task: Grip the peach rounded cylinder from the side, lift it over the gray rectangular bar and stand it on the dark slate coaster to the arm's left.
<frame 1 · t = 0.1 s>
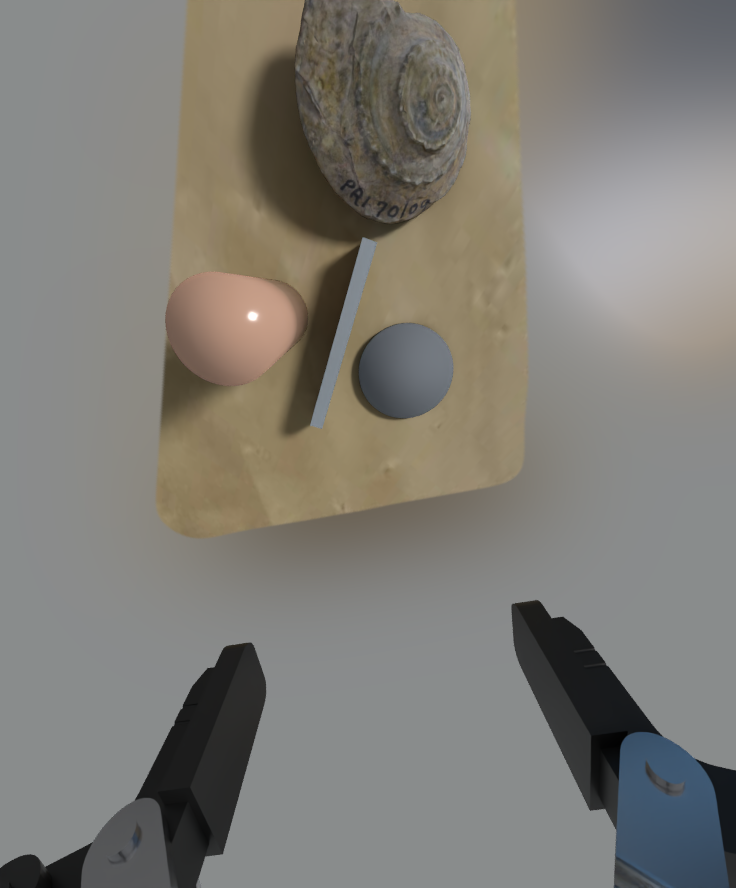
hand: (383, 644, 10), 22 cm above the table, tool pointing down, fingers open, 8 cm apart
fossilized seashell: (381, 123, 23), on the table
gray rectangular bar: (341, 338, 28), on the table
peach rounded cylinder: (275, 315, 27), on the table
slate coaster: (405, 371, 29), on the table
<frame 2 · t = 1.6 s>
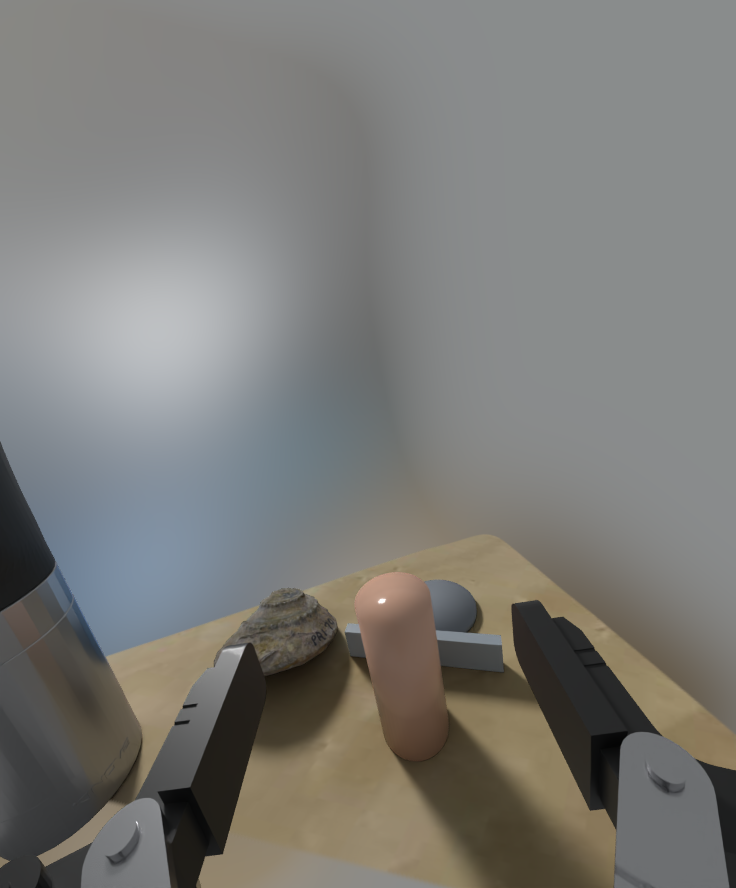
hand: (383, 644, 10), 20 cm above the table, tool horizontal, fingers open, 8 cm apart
fossilized seashell: (283, 656, 35), on the table
gray rectangular bar: (422, 658, 32), on the table
peach rounded cylinder: (415, 722, 27), on the table
slate coaster: (437, 609, 37), on the table
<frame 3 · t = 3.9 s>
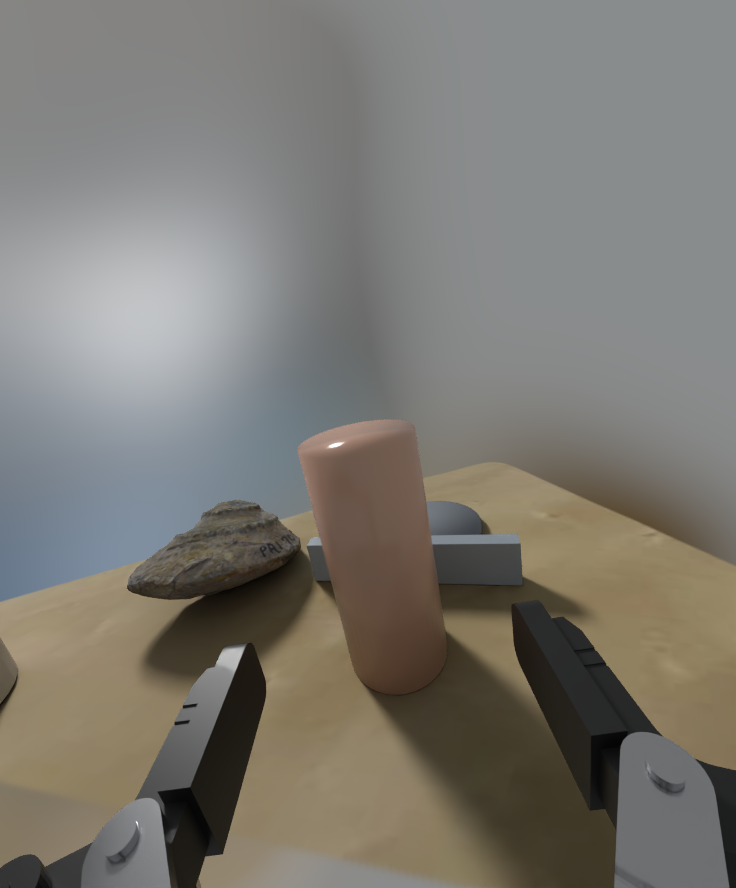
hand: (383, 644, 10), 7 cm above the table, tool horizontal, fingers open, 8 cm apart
fossilized seashell: (230, 583, 27), on the table
gray rectangular bar: (411, 577, 24), on the table
peach rounded cylinder: (398, 646, 19), on the table
slate coaster: (432, 529, 29), on the table
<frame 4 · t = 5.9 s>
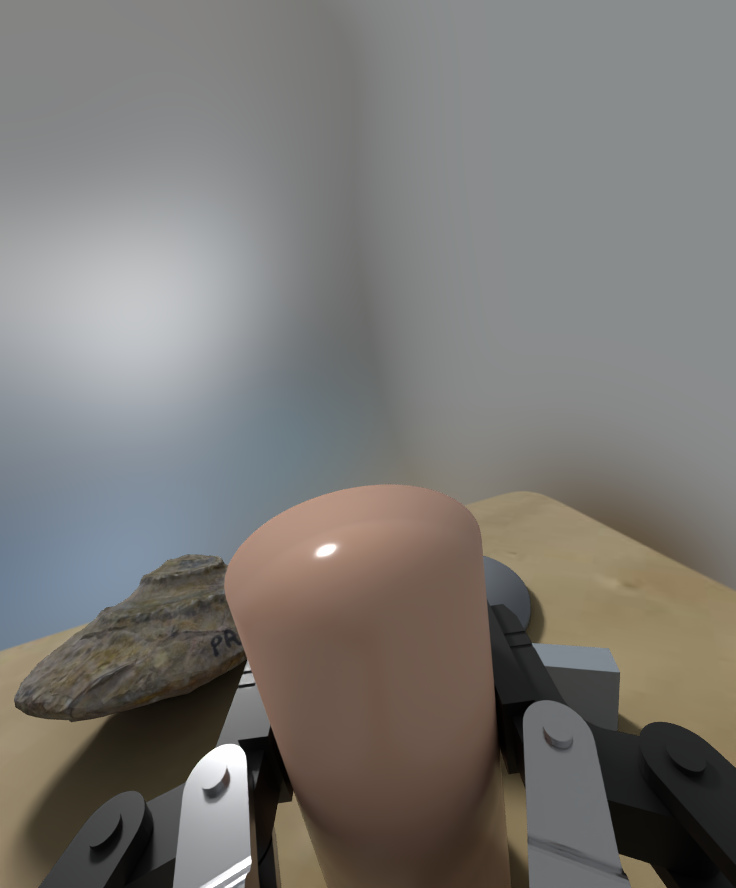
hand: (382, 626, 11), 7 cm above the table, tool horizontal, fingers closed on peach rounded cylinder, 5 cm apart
fossilized seashell: (180, 671, 20), on the table
gray rectangular bar: (434, 696, 16), on the table
peach rounded cylinder: (422, 871, 11), on the table, touching gripper
slate coaster: (458, 600, 21), on the table
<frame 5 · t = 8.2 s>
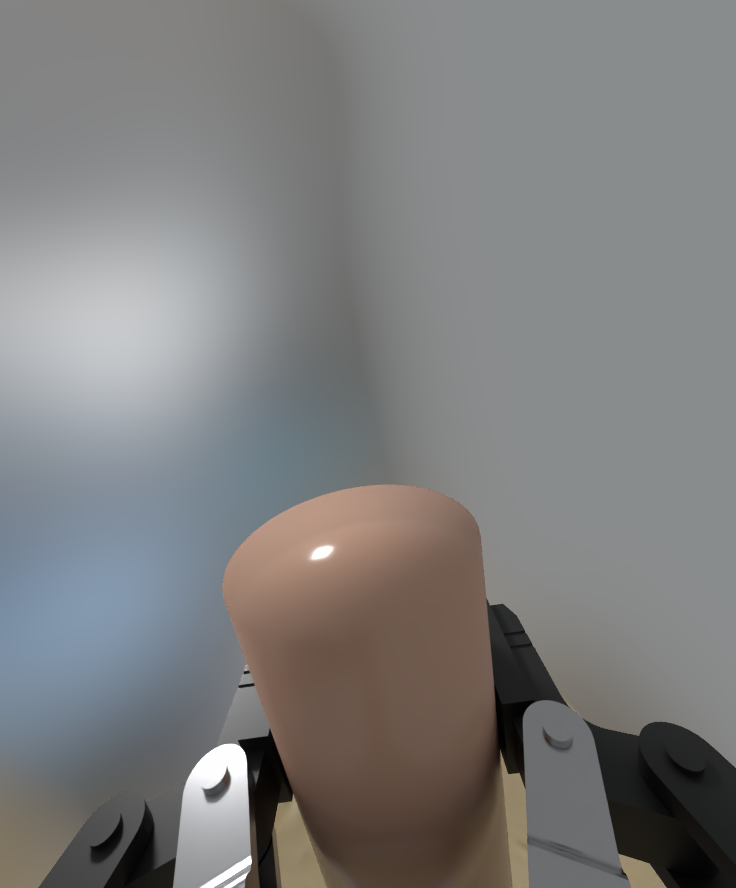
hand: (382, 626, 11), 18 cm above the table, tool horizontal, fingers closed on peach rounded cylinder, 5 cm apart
peach rounded cylinder: (423, 872, 11), point 11 cm above the table, touching gripper
when the fingers open (8 cm above the table, at t = 10.6 s): peach rounded cylinder stays where it is, resting on slate coaster.
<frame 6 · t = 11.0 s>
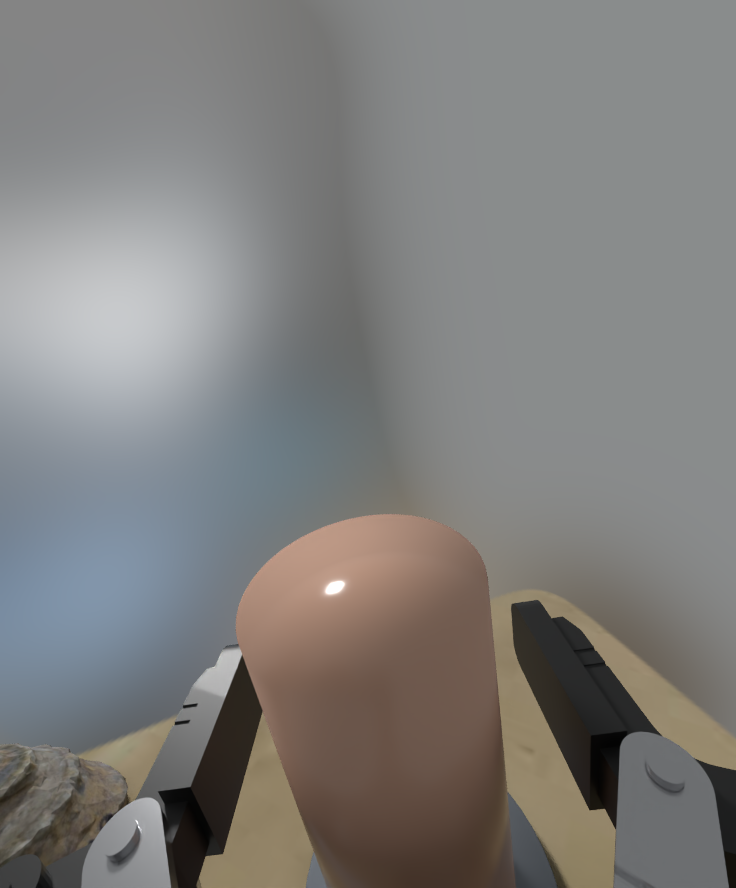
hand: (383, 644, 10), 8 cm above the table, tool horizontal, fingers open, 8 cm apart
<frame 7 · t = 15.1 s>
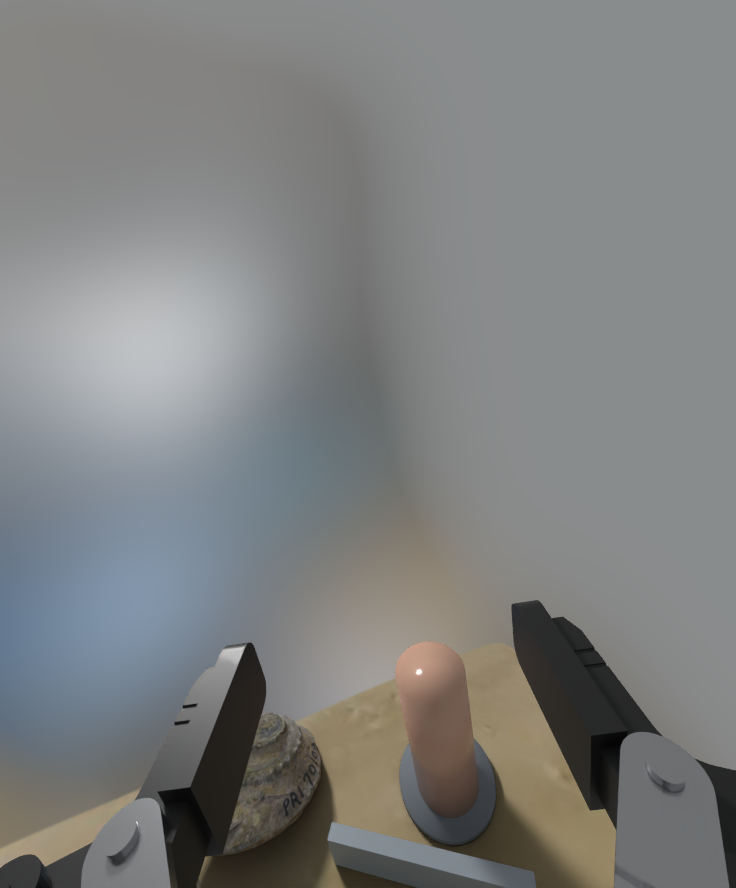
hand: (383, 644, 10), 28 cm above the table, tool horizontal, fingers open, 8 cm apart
fossilized seashell: (259, 800, 31), on the table
gray rectangular bar: (429, 880, 24), on the table
peach rounded cylinder: (447, 777, 29), point 1 cm above the table, touching slate coaster
slate coaster: (446, 780, 29), on the table
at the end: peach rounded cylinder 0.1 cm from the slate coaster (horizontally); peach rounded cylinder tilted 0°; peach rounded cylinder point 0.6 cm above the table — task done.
